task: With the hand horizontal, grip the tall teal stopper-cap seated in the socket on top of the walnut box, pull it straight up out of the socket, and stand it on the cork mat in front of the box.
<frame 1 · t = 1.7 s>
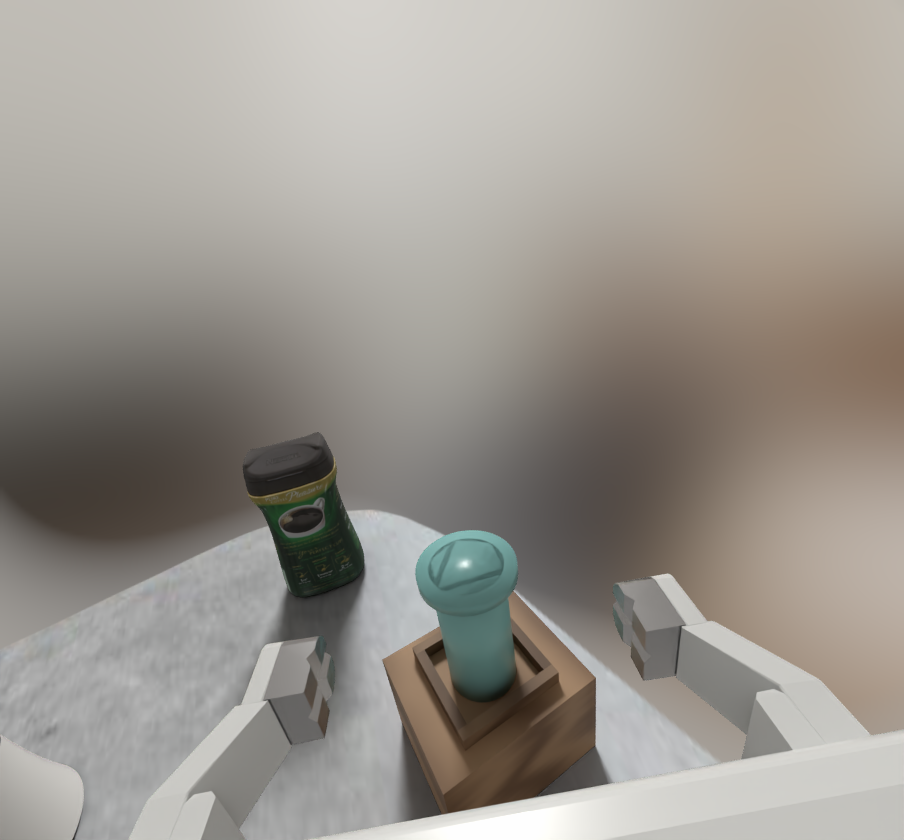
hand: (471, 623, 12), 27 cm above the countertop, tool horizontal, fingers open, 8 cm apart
coffee jar: (328, 573, 53), on the countertop
walnut box: (493, 733, 34), on the countertop
stopper cap: (482, 668, 30), point 8 cm above the countertop, touching walnut box
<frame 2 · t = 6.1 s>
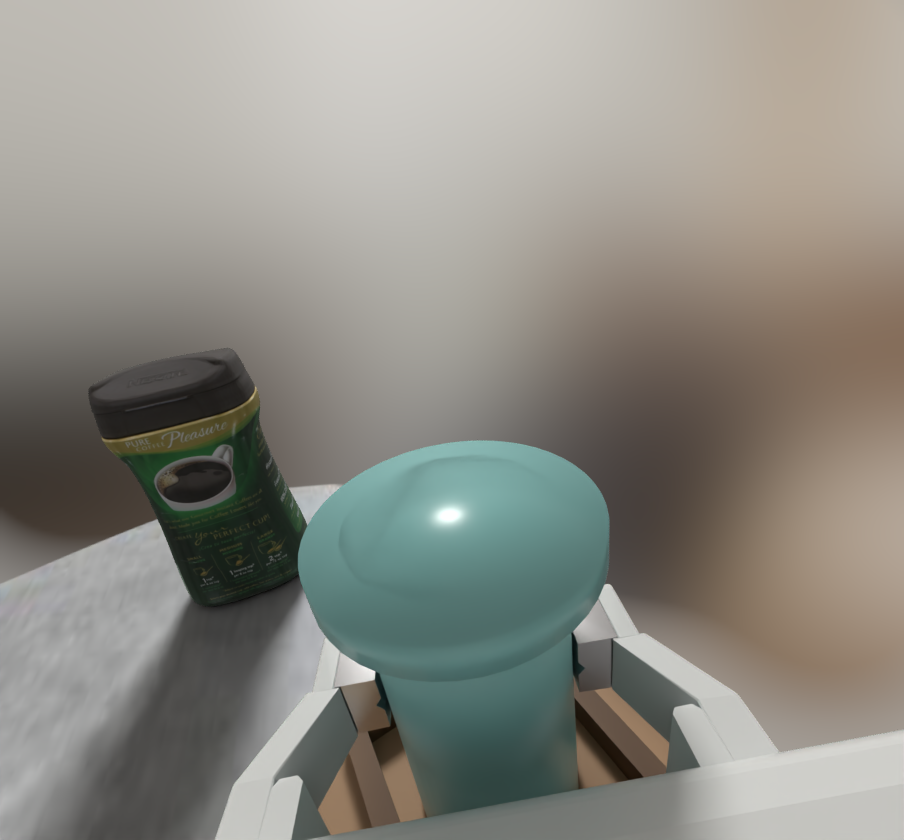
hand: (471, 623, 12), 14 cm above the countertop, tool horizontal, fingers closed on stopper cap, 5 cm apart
coffee jar: (258, 570, 36), on the countertop
stopper cap: (498, 772, 13), point 8 cm above the countertop, touching gripper, walnut box
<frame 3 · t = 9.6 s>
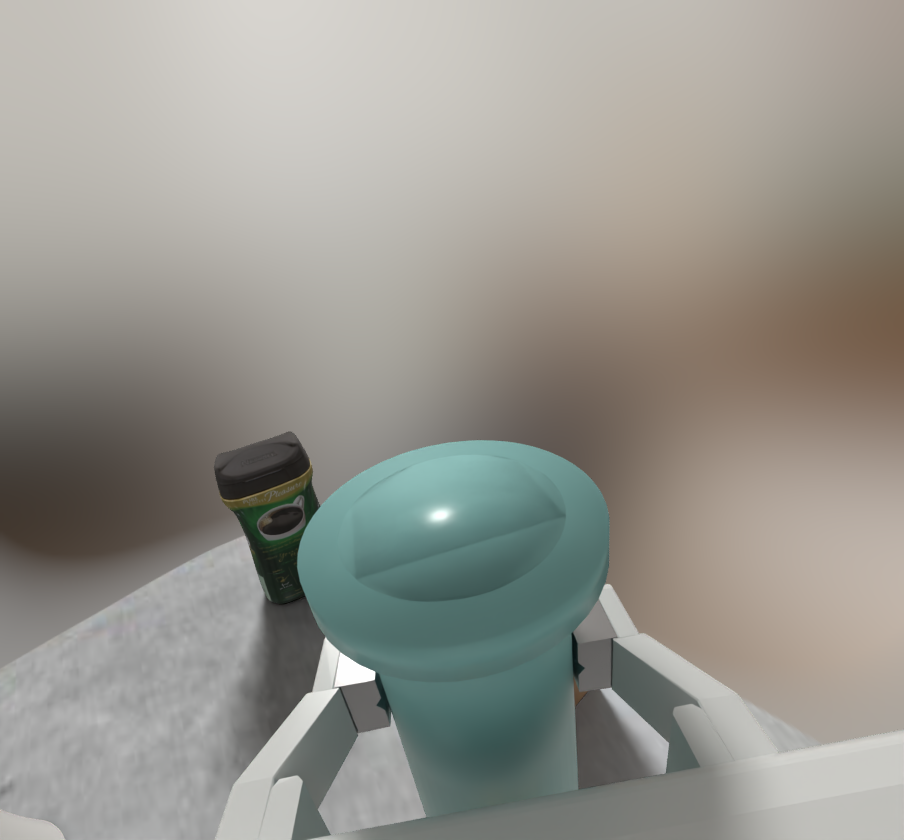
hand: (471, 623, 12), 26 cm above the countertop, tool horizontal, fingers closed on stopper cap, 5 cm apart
coffee jar: (306, 577, 52), on the countertop
stopper cap: (498, 772, 13), point 21 cm above the countertop, touching gripper
when the fingers open (7 cm above the countertop, at t = 13.3 s): stopper cap drops 1 cm, resting on cork mat.
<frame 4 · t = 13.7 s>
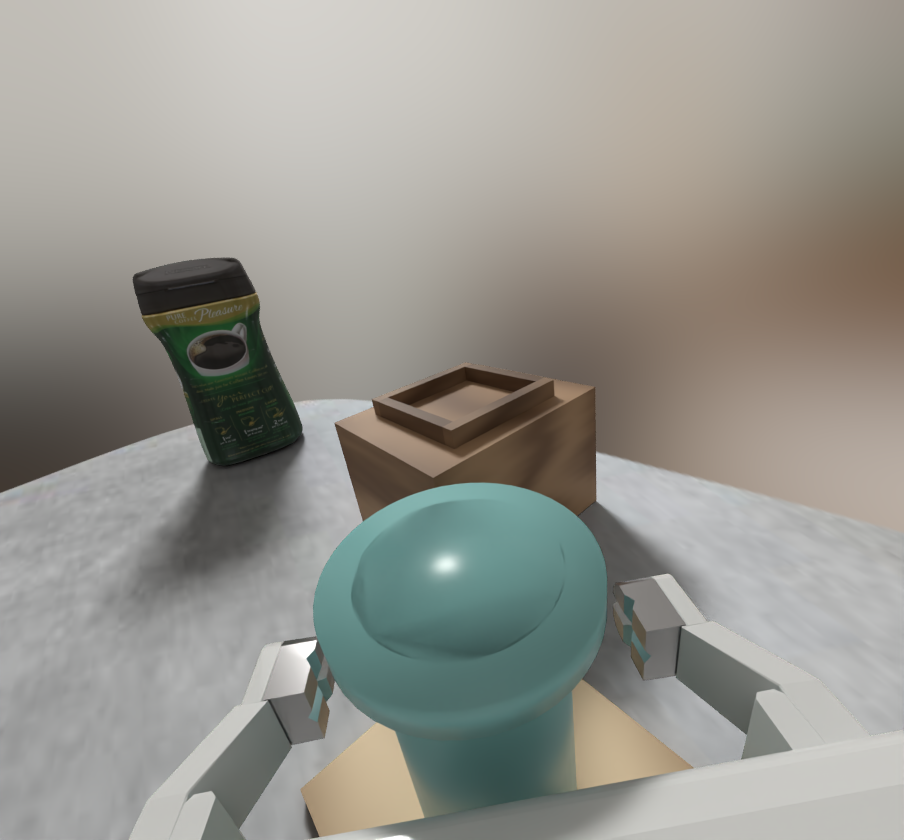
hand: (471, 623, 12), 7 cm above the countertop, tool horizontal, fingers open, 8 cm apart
coffee jar: (258, 447, 44), on the countertop
cork mat: (505, 806, 14), on the countertop
walnut box: (478, 514, 28), on the countertop
stopper cap: (500, 797, 14), point 1 cm above the countertop, touching cork mat
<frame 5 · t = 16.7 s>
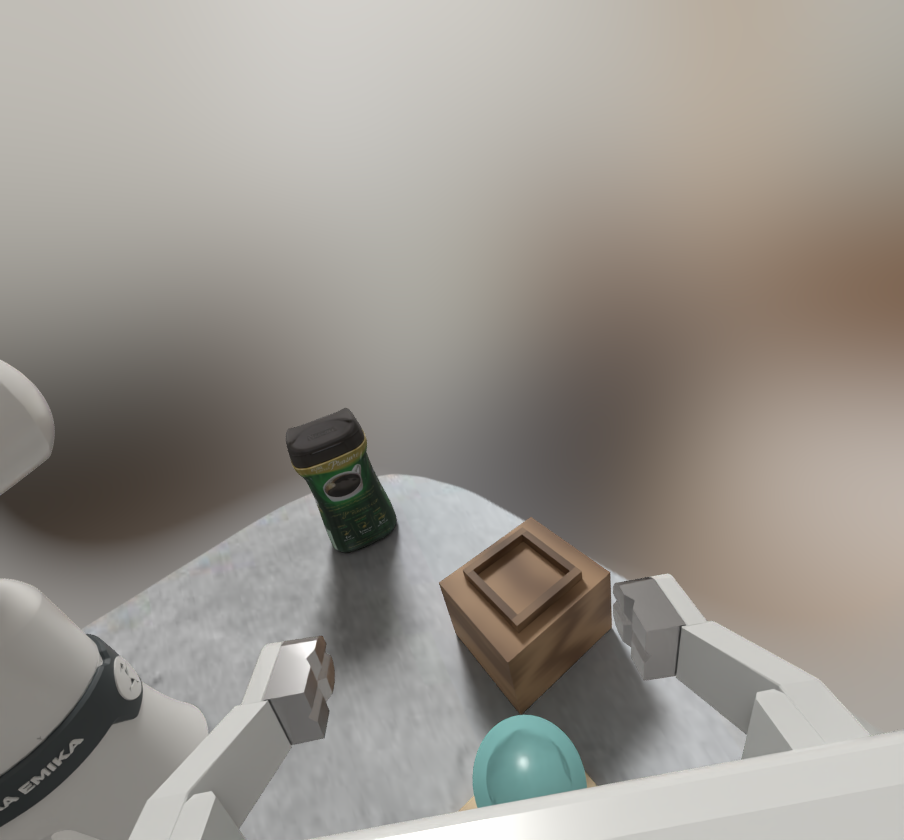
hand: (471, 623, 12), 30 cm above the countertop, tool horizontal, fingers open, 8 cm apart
coffee jar: (365, 531, 60), on the countertop
walnut box: (531, 630, 42), on the countertop
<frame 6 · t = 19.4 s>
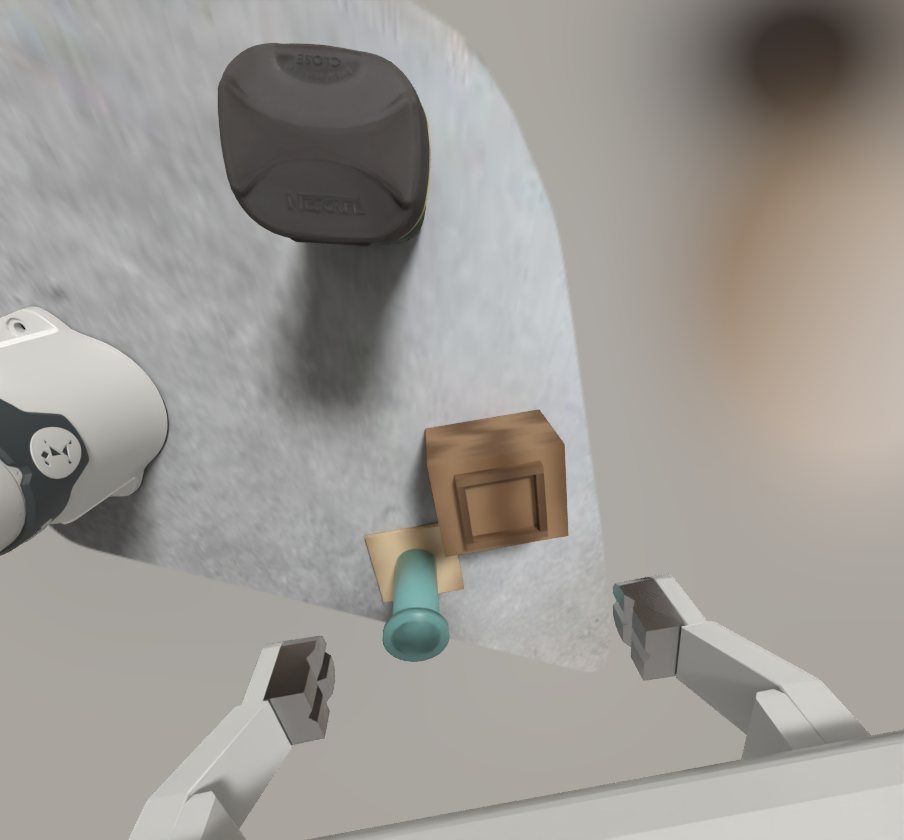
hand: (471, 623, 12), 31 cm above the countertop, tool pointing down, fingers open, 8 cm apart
coffee jar: (367, 191, 35), on the countertop
cork mat: (416, 561, 50), on the countertop
walnut box: (487, 460, 45), on the countertop
stopper cap: (416, 564, 49), point 1 cm above the countertop, touching cork mat
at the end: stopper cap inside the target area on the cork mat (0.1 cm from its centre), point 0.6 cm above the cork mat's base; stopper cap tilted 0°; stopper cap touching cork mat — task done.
